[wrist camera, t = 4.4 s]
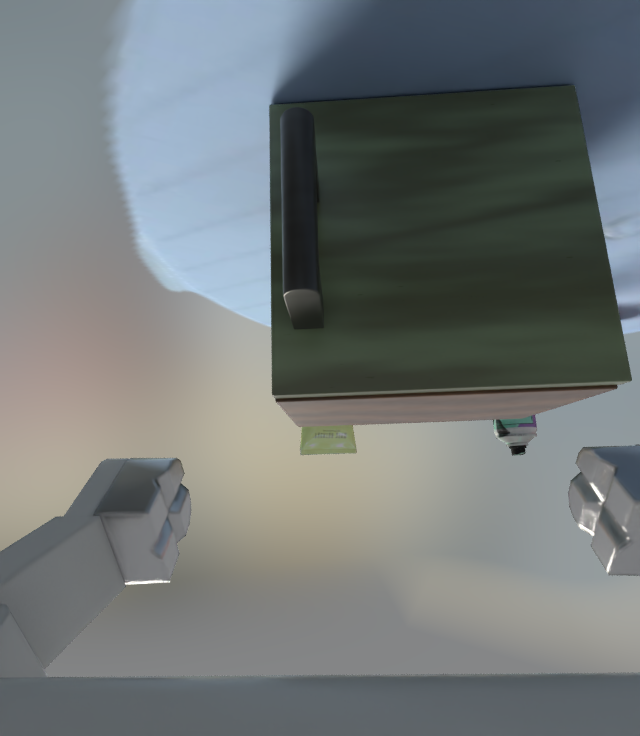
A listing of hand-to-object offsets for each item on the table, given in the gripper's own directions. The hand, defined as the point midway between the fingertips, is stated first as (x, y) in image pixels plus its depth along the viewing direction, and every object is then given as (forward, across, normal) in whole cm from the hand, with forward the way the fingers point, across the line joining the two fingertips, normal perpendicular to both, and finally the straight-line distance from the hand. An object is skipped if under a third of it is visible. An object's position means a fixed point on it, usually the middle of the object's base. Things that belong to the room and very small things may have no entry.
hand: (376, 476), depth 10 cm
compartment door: (+23, -5, -9) cm, 25 cm away
